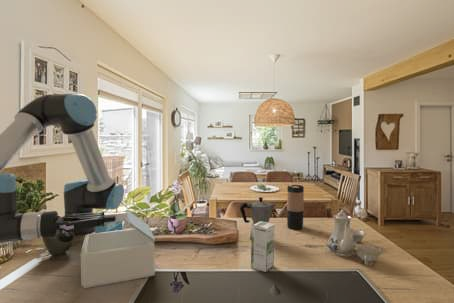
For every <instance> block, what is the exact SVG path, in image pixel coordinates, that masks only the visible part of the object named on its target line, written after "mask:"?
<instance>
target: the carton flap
mask: <svg viewBox="0 0 454 303" xmlns="http://www.w3.org/2000/svg"><path fill="white" fill-rule="evenodd" d="M125 212H126V221H127V224H128V225H129V226H130V227H132V229H136V230H137V231H139V232H140V233H142V234H143V235H145V236H146V237H148V238H149V239H150V240H152V241H153V242H154V243H155V242H156V239H155V236H154V234H153V232H152V230H151V227H150V225H149V224H147V223H146V222H145V221H144V220H142V219H141V218H139V217H138V216H136V215H135V214H133V212H130V211H129V210H128V209H126V210H125Z"/></svg>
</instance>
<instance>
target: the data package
mask: <svg viewBox="0 0 454 303" xmlns="http://www.w3.org/2000/svg"><path fill="white" fill-rule="evenodd" d="M119 230H123V222H114V223H105V222H104V226H103V227H102V226H98V227H95V230H94V233H102V232H110V231H119Z"/></svg>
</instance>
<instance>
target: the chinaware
mask: <svg viewBox="0 0 454 303" xmlns="http://www.w3.org/2000/svg"><path fill="white" fill-rule="evenodd" d="M332 218H333V223H334V224H333V225H334V226H333V230H332V233H331V235H330V236H329V237H328V239H327V242H326V246H327V248H329V252H330V253H332V255H336V256H338V257H339V256H340V257H352V256H354V253H355V252H356V255H357V257H358V258H359V260H361V263H362V264H363V265H366V266H371V265H372V266H373V264H374V263H376V261H378V259H379V257H380V256H381V254H382V251H383V250H382V248H380V247H375V246H374V245H372V244H370V243H365V244H361V243H362V241H363V238H364V236H366V233H367V232H364V231H363V230H361V229H358V228H357V229H354V228H351V222H352V221H351V220H352V216H350V215H348V214H347V213H346V212H345V211H344V209H341V210H340V212H338V213H337V214H334V215H333V216H332Z"/></svg>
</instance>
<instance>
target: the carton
mask: <svg viewBox="0 0 454 303" xmlns="http://www.w3.org/2000/svg"><path fill="white" fill-rule="evenodd" d="M155 246H156V245H155V242H153V241H152V240H150V239H149V238H148V237H146V236H145V235H143V234H142V233H140V232H139V231H137V230H136V229H135V228H129V229H127V228H126V229H122V230H119V231H110V232H102V233H95V232H94V233H86V234H84V239H83V243H82V247H81V250H80V279H81V280H80V283H81V287H83V289H89V288H94V287H99V286H106V285H110V284H116V283H117V284H118V283H120V282H128V281H133V280H137V279H142V278H149V277H154V276H156V264H155V262H156V259H155ZM148 276H149V277H148Z"/></svg>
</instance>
